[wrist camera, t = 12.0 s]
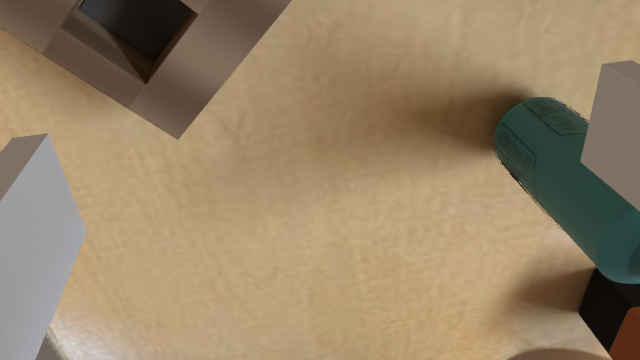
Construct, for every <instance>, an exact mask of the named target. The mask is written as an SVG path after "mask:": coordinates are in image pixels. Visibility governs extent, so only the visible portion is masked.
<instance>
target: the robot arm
mask: <svg viewBox="0 0 640 360" xmlns="http://www.w3.org/2000/svg"><path fill="white" fill-rule="evenodd" d="M580 162H581V163H582V164H584V165H585V166H586V167H587V168H588V169H590V170H591V171H592V172H593V173H594V174H596V175H597V176H598V177H599V178H600V179H602V180H603V181H604V182H605V183H606V184H608V185H609V186H610V187H611V188H612V189H613V190H615V191H616V192H617V193H618V194H619V195H621V196H622V197H623V198H624V199H625V200H627V201H628V202H629V203H630V204H631V205H633V206H634V207H635V208H636V209H637V210H639V211H640V64H638V63H636V62H634V61H632V60H630V61H622V62H614V63H607V64H602V67H601V72H600V76H599V81H598V85H597V90H596V94H595V99H594V103H593V107H592V112H591V116H590V121H589V125H588V130H587V134H586V139H585V143H584V148H583V152H582V157H581V161H580ZM86 233H87V231H86V229H85V226H84V224H83V221H82V219H81V216H80V214H79V211H78V208H77V206H76V203H75V201H74V198H73V196H72V193H71V191H70V188H69V185H68V183H67V180H66V178H65V175H64V173H63V170H62V168H61V165H60V162H59V160H58V157H57V155H56V152H55V150H54V147H53V145H52V142H51V139H50V137H49V134H40V135H32V136H24V137H16V138H12V139H11V140H10V141H9V143H8V144H7V145H6V146H5V148H4V149H3V150H2V151H1V152H0V360H35V359H36V356H37V354H38V351H39V349H40V346H41V344H42V342H43V339H44V337H45V334H46V332H47V329H48V327H49V324H50V322H51V319H52V317H53V314H54V312H55V309H56V307H57V304H58V302H59V299H60V297H61V294H62V292H63V290H64V287H65V285H66V282H67V280H68V277H69V275H70V272H71V270H72V267H73V265H74V262H75V260H76V257H77V255H78V252H79V250H80V247H81V245H82V242H83V240H84V238H85V235H86Z"/></svg>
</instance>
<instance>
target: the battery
mask: <svg viewBox="0 0 640 360" xmlns="http://www.w3.org/2000/svg"><path fill="white" fill-rule="evenodd" d="M579 315H580V316H581V318H582V319H583V320H584V322H585V323H586V324H587V326H588V327H589V328H590V330H591V331H592V332H593V334H594V335H595V336H596V338H597V339H598V340H599V342H600V343H601V344H602V346H603V347H604V348H605V350H606V351H607V353H608V354H609V355H610V357H611V358H612V359H613V360H640V284H627V283H619V282H615V281H612V280H610V279H608V278H607V277H605V276H604V275H603V274H602V273H601V272H600V271H599V269H596V270H595V271H594V274H593V276H592V279H591V281H590V284H589V286H588V289H587V292H586V294H585V297H584V299H583V302H582V305H581V307H580V310H579Z"/></svg>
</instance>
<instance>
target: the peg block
mask: <svg viewBox="0 0 640 360" xmlns="http://www.w3.org/2000/svg"><path fill="white" fill-rule="evenodd" d="M291 1H292V0H0V28H1V29H3V30H5V31H6V32H8V33H9V34H11V35H12V36H14V37H16V38H17V39H19V40H20V41H22V42H24V43H25V44H27V45H28V46H30V47H31V48H33V49H35V50H36V51H38V52H39V53H41V54H43V55H44V56H46V57H47V58H49V59H50V60H52V61H54V62H55V63H57V64H58V65H60V66H62V67H63V68H65V69H66V70H68V71H69V72H71V73H73V74H74V75H76V76H77V77H79V78H81V79H82V80H84V81H85V82H87V83H88V84H90V85H92V86H93V87H95V88H96V89H98V90H100V91H101V92H103V93H104V94H106V95H107V96H109V97H111V98H112V99H114V100H115V101H117V102H119V103H120V104H122V105H123V106H125V107H126V108H128V109H130V110H131V111H133V112H134V113H136V114H138V115H139V116H141V117H142V118H144V119H145V120H147V121H149V122H150V123H152V124H153V125H155V126H157V127H158V128H160V129H161V130H163V131H164V132H166V133H168V134H169V135H171V136H172V137H174V138H176V139H177V140H178V139H179V138H180V137H181V135H182V134H183V133H184V132H185V130H186V129H187V128H188V127H189V126H190V124H191V123H192V122H193V121H194V119H195V118H196V117H197V116H198V115H199V113H200V112H201V111H202V110H203V108H204V107H205V106H206V105H207V103H208V102H209V101H210V100H211V99H212V97H213V96H214V95H215V94H216V92H217V91H218V90H219V89H220V88H221V86H222V85H223V84H224V83H225V81H226V80H227V79H228V78H229V77H230V75H231V74H232V73H233V72H234V70H235V69H236V68H237V67H238V66H239V64H240V63H241V62H242V61H243V59H244V58H245V57H246V56H247V54H248V53H249V52H250V51H251V50H252V48H253V47H254V46H255V45H256V43H257V42H258V41H259V40H260V39H261V37H262V36H263V35H264V34H265V32H266V31H267V30H268V29H269V28H270V26H271V25H272V24H273V23H274V21H275V20H276V19H277V18H278V17H279V15H280V14H281V13H282V12H283V10H284V9H285V8H286V7H287V5H288V4H289V3H290V2H291Z"/></svg>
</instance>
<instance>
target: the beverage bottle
mask: <svg viewBox="0 0 640 360" xmlns="http://www.w3.org/2000/svg"><path fill="white" fill-rule="evenodd" d="M554 99H555V98H554ZM554 99H551V98H545V97H536V98H531V99H527V100H524V101H522V102H520V103H518V104H517V105H515V106H514V107H512V108H511V109H510V110H509V111H508V112H507V113H506V114H505V115H504V116H503V117H502V118H501V120H500V122H499V123H498V125H497V127H496V130H495V134H494V150H495V151H496V154H497V156H498V160H499V159H500V160H501V163H502V164H501V163H500V164H501V165H504V166H505V167H506V168H507V170H508V171H509V172H510V175H511V176H512V177H513V178H514V179H515V180H516V181H517V182H518V183H519V182H520V183H521V184H522V185H523V186H524V187H525V188H526V189H527V191H528V192H529V193H530V194H531V195H532V196H533V197H534V198H535V199H536V201H537V202H538V203H539V204H540V206H542V207H543V209H545V211H546V212H547V214H549V215H550V216H551V217H552V218H553V219H554V221H555V222H556V223H557V224H558V225H560V226H561V227H562V228H563V229H562V230H564V231H565V232H566V233H567V234H568V235H569V236H570V237H571V238H572V239H573V241H574V242H575V243H576V244H577V245H578V246H579V247H580V248H581V249H582V250H583V252H584V253H585V254H586V255H587V256H588V257H589V258H590V259H591V260H592V261H593V262H594V264H595V265H596V266H597V268H598V269H599V271H600V272H601V273H602V274H603V275H604V276H605V277H607V278H608V279H610V280H612V281H615V282H619V283H627V284H640V211H639V210H637V209H636V208H635V207H634V206H633V205H631V204H630V203H629V202H628V201H627V200H625V199H624V198H623V197H622V196H621V195H619V194H618V193H617V192H616V191H615V190H613V189H612V188H611V187H610V186H609V185H608V184H606V183H605V182H604V181H603V180H602V179H600V178H599V177H598V176H597V175H596V174H594V173H593V172H592V171H591V170H590V169H588V168H587V167H586V166H585V165H584V164H582V163H581V162H580V161H581V157H582V152H583V148H584V143H585V139H586V134H587V130H588V125H589V123H588V122H586V121H585V120H586V119H584V118H583V119H582V117H580V116H579V115H581V114H579V113H577V111H576V113H577V114H579V115H577V114H575V113H574V112H573V111H574V110H573V111H572V110H570V109H568V108H567V107H566V106H565V104H562V103H563V101H562V103H560V102H561V100H560V102H559V101H557V100H554ZM567 106H568V105H567ZM569 108H571V107H570V106H569ZM571 109H572V108H571ZM583 117H584V116H583ZM587 121H588V120H587ZM496 154H495V155H496ZM496 158H497V157H496ZM499 162H500V161H499ZM518 180H519V181H518ZM520 183H519V184H520ZM521 184H520V186H521V187H522V188H523V189H524V187H523V186H522V185H521ZM524 190H525V189H524ZM525 191H526V190H525ZM527 191H526V193H528V192H527ZM531 195H529V196H530V197H532V196H531ZM533 197H532V198H533ZM534 198H533V199H534ZM533 199H532V200H533ZM534 201H535V200H534ZM537 202H535V203H537ZM538 206H539V205H538ZM540 206H539V207H540ZM542 207H541V208H542ZM541 210H542V209H541ZM548 218H549V217H548ZM555 225H556V224H555ZM559 228H560V227H559Z"/></svg>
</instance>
